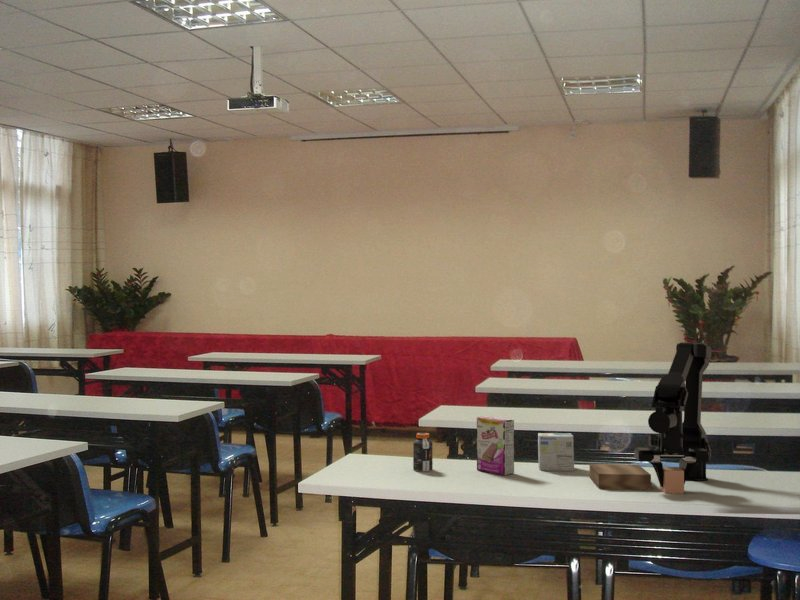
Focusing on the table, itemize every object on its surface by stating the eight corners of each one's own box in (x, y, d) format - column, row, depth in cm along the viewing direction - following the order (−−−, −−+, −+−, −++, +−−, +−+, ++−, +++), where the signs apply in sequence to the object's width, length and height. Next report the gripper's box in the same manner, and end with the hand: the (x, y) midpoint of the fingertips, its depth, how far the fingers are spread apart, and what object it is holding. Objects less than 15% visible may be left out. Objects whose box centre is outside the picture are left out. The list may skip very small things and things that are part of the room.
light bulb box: (572, 467, 242) (571, 432, 243) (574, 471, 236) (574, 436, 236) (537, 466, 243) (537, 432, 244) (539, 470, 237) (538, 435, 237)
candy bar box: (475, 470, 237) (475, 417, 237) (486, 468, 241) (486, 415, 241) (504, 476, 229) (504, 420, 229) (515, 473, 232) (514, 419, 233)
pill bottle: (433, 472, 235) (433, 434, 235) (413, 472, 235) (413, 434, 235) (432, 468, 241) (431, 431, 241) (412, 468, 241) (412, 431, 241)
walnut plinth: (638, 478, 225) (638, 464, 225) (651, 489, 211) (650, 474, 211) (589, 477, 226) (589, 464, 226) (599, 488, 212) (598, 474, 212)
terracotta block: (678, 489, 211) (678, 467, 211) (684, 493, 206) (683, 470, 206) (659, 489, 212) (659, 467, 212) (665, 493, 207) (664, 470, 207)
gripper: (696, 424, 217) (697, 480, 216) (629, 424, 218) (629, 479, 218) (710, 430, 206) (711, 489, 205) (638, 430, 207) (639, 488, 206)
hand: (671, 486), depth 209 cm, fingers closed on terracotta block, 5 cm apart
